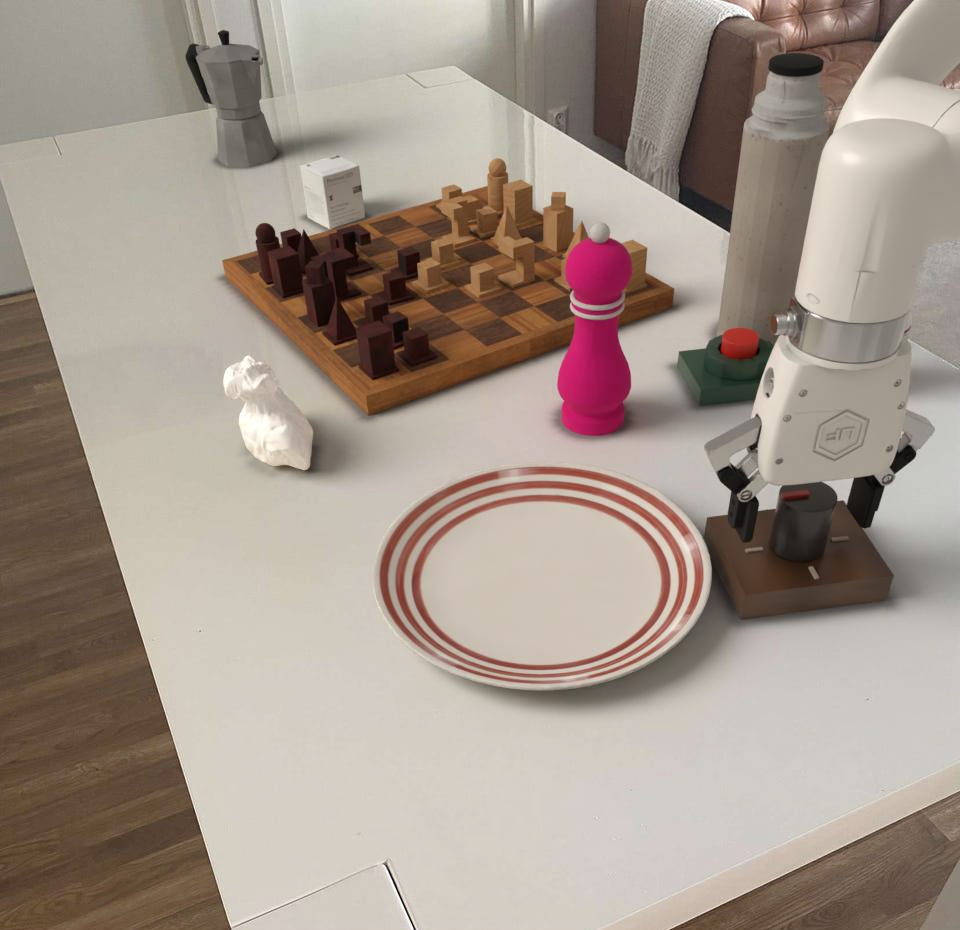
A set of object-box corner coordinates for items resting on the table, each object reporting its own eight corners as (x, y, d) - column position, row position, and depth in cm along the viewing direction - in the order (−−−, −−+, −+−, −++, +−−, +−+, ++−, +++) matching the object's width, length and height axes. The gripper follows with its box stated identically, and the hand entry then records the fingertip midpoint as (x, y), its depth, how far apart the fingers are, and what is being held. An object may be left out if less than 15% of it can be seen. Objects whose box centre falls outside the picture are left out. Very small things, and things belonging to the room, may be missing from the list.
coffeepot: (299, 155, 160) (278, 26, 147) (259, 175, 155) (234, 43, 142) (227, 141, 166) (201, 16, 154) (187, 160, 161) (156, 32, 148)
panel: (836, 527, 88) (843, 498, 86) (885, 603, 81) (894, 573, 79) (702, 544, 87) (706, 515, 85) (740, 623, 80) (745, 593, 78)
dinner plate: (706, 728, 72) (712, 697, 70) (339, 694, 76) (332, 663, 74) (708, 500, 92) (712, 469, 89) (414, 482, 96) (411, 452, 93)
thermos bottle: (740, 314, 116) (780, 41, 97) (803, 334, 112) (857, 53, 93) (702, 342, 112) (736, 62, 92) (766, 363, 108) (815, 76, 89)
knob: (812, 524, 84) (825, 472, 80) (833, 558, 80) (847, 504, 77) (761, 531, 83) (771, 478, 80) (780, 565, 80) (791, 511, 76)
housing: (766, 359, 109) (772, 325, 106) (793, 397, 103) (800, 362, 100) (676, 369, 108) (680, 335, 105) (698, 409, 102) (703, 373, 100)
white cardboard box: (330, 232, 138) (322, 176, 133) (307, 219, 142) (298, 164, 137) (366, 219, 141) (360, 164, 136) (343, 207, 144) (335, 153, 139)
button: (749, 341, 104) (752, 325, 103) (761, 358, 102) (764, 342, 101) (716, 345, 104) (718, 329, 103) (727, 362, 102) (729, 346, 100)
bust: (270, 441, 106) (183, 379, 98) (319, 389, 104) (234, 322, 96) (295, 504, 97) (203, 443, 90) (349, 450, 96) (259, 382, 88)
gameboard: (672, 309, 118) (679, 231, 111) (368, 418, 104) (357, 336, 97) (490, 203, 143) (488, 135, 136) (226, 280, 129) (209, 207, 122)
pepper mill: (615, 397, 105) (627, 202, 91) (638, 434, 100) (653, 233, 86) (548, 408, 104) (549, 212, 90) (567, 446, 99) (571, 245, 85)
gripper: (740, 364, 65) (708, 567, 77) (995, 337, 66) (924, 541, 78) (705, 311, 70) (680, 509, 82) (942, 287, 72) (883, 485, 84)
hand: (799, 524), depth 80 cm, fingers open, 9 cm apart
